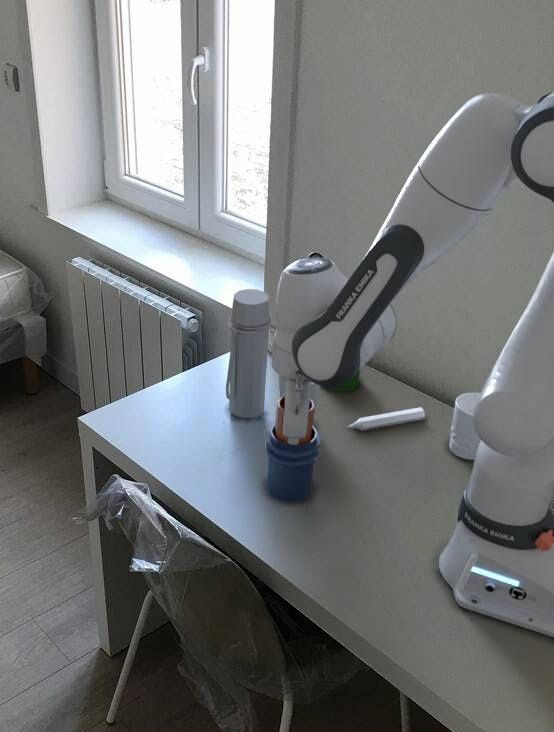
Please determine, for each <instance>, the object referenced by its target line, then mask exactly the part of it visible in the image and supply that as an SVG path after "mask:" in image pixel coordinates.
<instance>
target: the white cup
mask: <svg viewBox="0 0 554 732" xmlns="http://www.w3.org/2000/svg"><path fill="white" fill-rule="evenodd" d="M480 394H481V392H465V393H462V394H460V395H458V396H457V397H456V398H455V402H454V408H453V415H452V420H451V428H450V438H449V443H448V447H449V449H450V452H451V453H453V454H454V455H455V456H456V457H459V458H461V459H463V460H469V461H475V457H476V453H477V449H478V446H479V444H480V442H481V439H480V437H479V436H478V434H477V432H476V430H475V427H474V421H473V416H474V411H475V407H476V404H477V401H478V398H479V396H480Z"/></svg>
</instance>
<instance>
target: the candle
mask: <svg viewBox="0 0 554 732" xmlns="http://www.w3.org/2000/svg"><path fill="white" fill-rule="evenodd" d="M360 373H361V368H360V369H359V370H358V372H357V373H356V374H355V375H354V376H353V378H352V379H351V380H350V381H349V382H348V383H347V384H345V385H344V386H342V387H338V388H327V387H324V389H327V390H330V391H334V392H347V391H351V390H354V389H356V387H358V385H359V380H360Z"/></svg>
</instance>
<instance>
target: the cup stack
mask: <svg viewBox="0 0 554 732" xmlns="http://www.w3.org/2000/svg"><path fill="white" fill-rule="evenodd" d="M269 431H270V436H269V438H270V440H271V443H272V444H273V445H275V446H276V447H277V448H279V449H280V450H284V451H290V452H303V451H306V450H310V449H311V448H312V447H313V446H315V445H316V442H317V435H318V434H319V433H318V431H317V429H316V427H315V426H314V425H313V426H312V435H311V441H310V442H307V443H305V444H297V445H293V444H287V443H284V442H281V441H279V440H278V439H277V438H275V423H274V424H272V425H271V427H270V429H269ZM270 451H271V452H272V453H273V454H274V455H275V456H277V457H279V458H281V459H284V460H290V461H299V460H305V459H308V458H310V457H311V456H312V455H313V454H314V453H315V452H314V453H313V454H312V455H308V456H302V457H297V458H293V457H289V456H284V455H279V454H277V453H276V452H274V451H273V450H272V449H270ZM315 462H316V459H315V460H314V461H313V462H312V463H310V464H305V465H300V466H289V465H284V464H280V463H277V462H275V461H274V460H273V459H272V458H270V457H269V456H268V455H267V471H266V472H267V473H266V486H265V487H266V490H267V493H268V495H270V497H272V498H274V499H275V500H277V501H280V502H284V503H299V502H301V501H304V500H306V499H307V498H309V496H310V495H311V494H312V486H313V478H314V477H313V476H314V468H315Z"/></svg>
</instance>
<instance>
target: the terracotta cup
mask: <svg viewBox="0 0 554 732" xmlns="http://www.w3.org/2000/svg"><path fill="white" fill-rule="evenodd" d="M284 407H285V396H282V397H281V398H280V397H279V398H278V400H277V402H276V411H275V423H274V424H275V438H277V439H278V440H279V441H281V442H284V443H287V444H288V438H286V437H284V436H283V421H284ZM314 407H315V404H314V402H313V400H311V399H310V403H309V414H308V425H307V434H306V437H305V438H304V439H299V443H298V444H305V443H307V442H310V441H311V435H312V426H314V420H313V416H314V417H315V415H314Z"/></svg>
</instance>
